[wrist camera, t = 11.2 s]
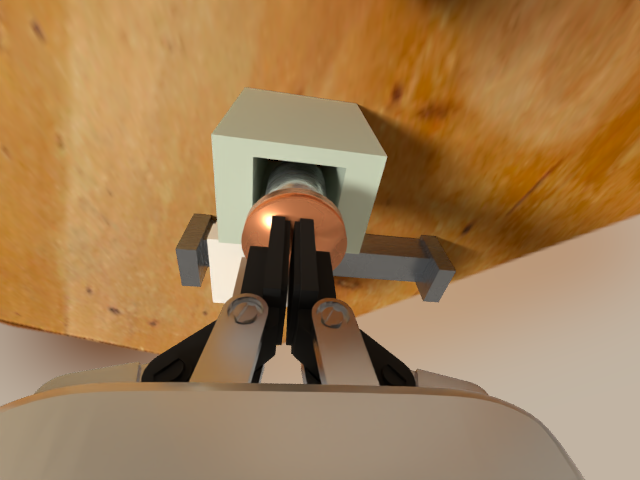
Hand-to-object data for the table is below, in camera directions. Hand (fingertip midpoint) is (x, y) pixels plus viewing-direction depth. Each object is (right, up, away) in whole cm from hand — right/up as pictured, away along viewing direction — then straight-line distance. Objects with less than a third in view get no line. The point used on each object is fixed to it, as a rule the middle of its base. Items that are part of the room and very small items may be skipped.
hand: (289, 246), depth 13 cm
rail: (+1, 0, +17) cm, 17 cm away
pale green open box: (0, +8, +11) cm, 14 cm away
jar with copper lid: (0, +3, +4) cm, 6 cm away
